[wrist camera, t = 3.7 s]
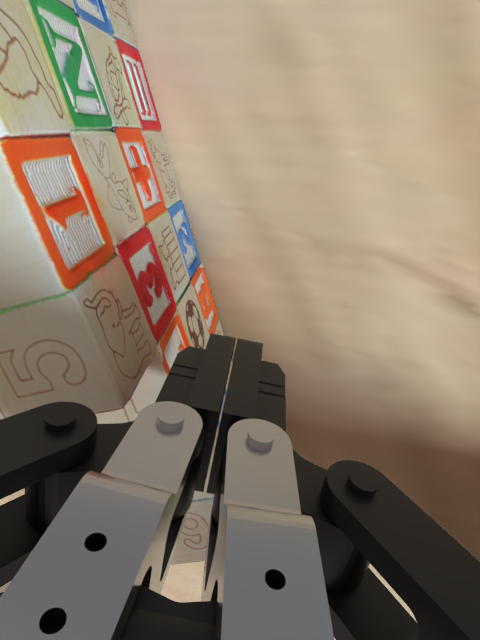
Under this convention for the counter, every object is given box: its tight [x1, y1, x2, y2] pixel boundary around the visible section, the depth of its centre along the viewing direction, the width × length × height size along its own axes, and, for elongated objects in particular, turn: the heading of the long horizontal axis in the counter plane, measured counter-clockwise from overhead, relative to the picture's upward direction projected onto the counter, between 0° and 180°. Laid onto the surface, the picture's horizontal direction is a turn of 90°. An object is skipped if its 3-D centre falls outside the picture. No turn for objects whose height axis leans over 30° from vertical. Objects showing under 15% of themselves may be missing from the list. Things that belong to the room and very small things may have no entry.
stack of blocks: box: [0, 0, 233, 565], centre depth 15 cm, size 21×6×12 cm, turn 15°
